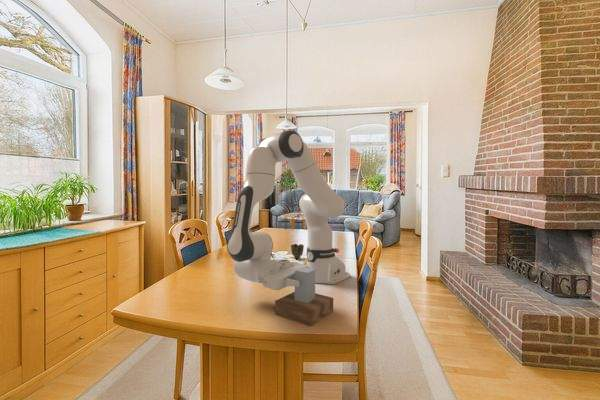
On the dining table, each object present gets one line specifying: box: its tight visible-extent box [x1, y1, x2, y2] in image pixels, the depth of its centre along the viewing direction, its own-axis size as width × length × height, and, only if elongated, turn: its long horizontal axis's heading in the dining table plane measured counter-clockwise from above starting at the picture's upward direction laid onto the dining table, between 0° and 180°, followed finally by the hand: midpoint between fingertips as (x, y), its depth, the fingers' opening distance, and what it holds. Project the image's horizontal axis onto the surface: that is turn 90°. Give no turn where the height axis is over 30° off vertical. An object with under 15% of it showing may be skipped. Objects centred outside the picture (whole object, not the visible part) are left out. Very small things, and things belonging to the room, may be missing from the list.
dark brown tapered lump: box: [290, 243, 305, 259], centre depth 177 cm, size 8×7×8 cm
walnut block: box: [274, 291, 334, 327], centre depth 103 cm, size 14×14×5 cm
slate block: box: [294, 267, 316, 303], centre depth 103 cm, size 5×5×10 cm
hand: (307, 279), depth 102 cm, fingers open, 8 cm apart
